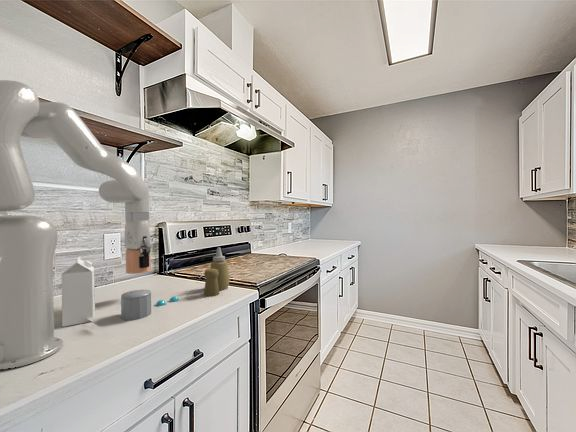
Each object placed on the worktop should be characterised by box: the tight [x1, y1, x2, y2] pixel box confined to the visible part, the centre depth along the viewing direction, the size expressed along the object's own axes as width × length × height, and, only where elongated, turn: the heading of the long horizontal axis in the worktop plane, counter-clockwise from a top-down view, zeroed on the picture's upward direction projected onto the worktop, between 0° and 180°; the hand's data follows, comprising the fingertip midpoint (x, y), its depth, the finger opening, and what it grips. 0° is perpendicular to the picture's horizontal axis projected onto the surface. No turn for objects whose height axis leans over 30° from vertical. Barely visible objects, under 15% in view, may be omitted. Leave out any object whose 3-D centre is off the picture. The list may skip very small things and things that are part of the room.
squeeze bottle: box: [209, 246, 230, 292], centre depth 108 cm, size 8×8×18 cm
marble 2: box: [169, 295, 180, 303], centre depth 93 cm, size 3×3×3 cm
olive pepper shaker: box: [203, 268, 220, 298], centre depth 100 cm, size 6×6×11 cm
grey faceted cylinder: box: [120, 289, 152, 321], centre depth 80 cm, size 8×8×8 cm
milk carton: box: [61, 255, 96, 327], centre depth 80 cm, size 7×7×19 cm
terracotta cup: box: [125, 248, 152, 275], centre depth 96 cm, size 8×8×8 cm
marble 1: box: [155, 299, 167, 307], centre depth 89 cm, size 3×3×3 cm
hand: (138, 265), depth 96 cm, fingers closed on terracotta cup, 7 cm apart
